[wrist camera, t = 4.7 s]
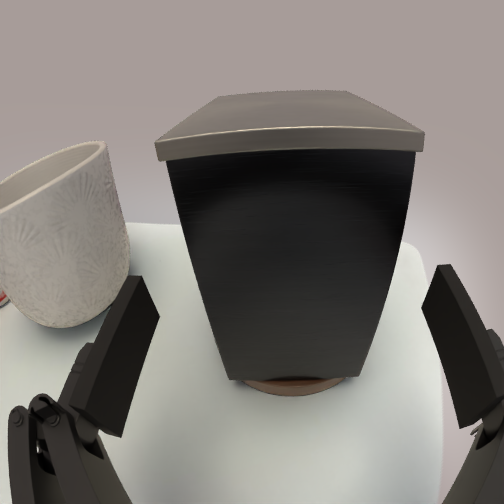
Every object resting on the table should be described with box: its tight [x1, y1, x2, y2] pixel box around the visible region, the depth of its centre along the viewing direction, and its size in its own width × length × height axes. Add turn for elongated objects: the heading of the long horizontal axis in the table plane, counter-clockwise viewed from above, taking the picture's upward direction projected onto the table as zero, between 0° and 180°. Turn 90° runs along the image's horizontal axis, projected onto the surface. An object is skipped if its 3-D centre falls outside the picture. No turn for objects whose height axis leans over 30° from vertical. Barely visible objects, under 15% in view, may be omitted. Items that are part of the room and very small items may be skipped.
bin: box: [155, 90, 425, 381], centre depth 19 cm, size 9×14×16 cm, turn 176°
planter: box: [0, 141, 130, 328], centre depth 25 cm, size 17×17×15 cm
